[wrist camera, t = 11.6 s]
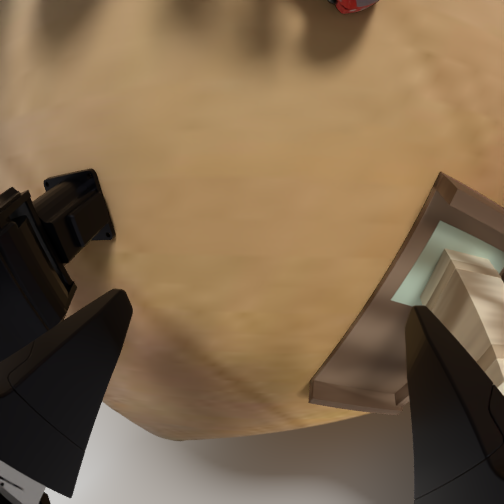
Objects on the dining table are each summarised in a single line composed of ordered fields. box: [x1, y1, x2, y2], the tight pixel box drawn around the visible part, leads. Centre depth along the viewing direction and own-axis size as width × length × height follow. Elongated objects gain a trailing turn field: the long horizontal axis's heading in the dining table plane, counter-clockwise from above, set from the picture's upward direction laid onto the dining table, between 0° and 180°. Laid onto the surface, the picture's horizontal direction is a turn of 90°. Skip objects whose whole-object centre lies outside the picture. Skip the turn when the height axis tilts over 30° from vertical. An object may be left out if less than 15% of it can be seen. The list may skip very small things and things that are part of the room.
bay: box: [309, 172, 504, 415], centre depth 24 cm, size 26×12×3 cm, turn 166°
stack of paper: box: [420, 248, 504, 395], centre depth 16 cm, size 5×5×12 cm
